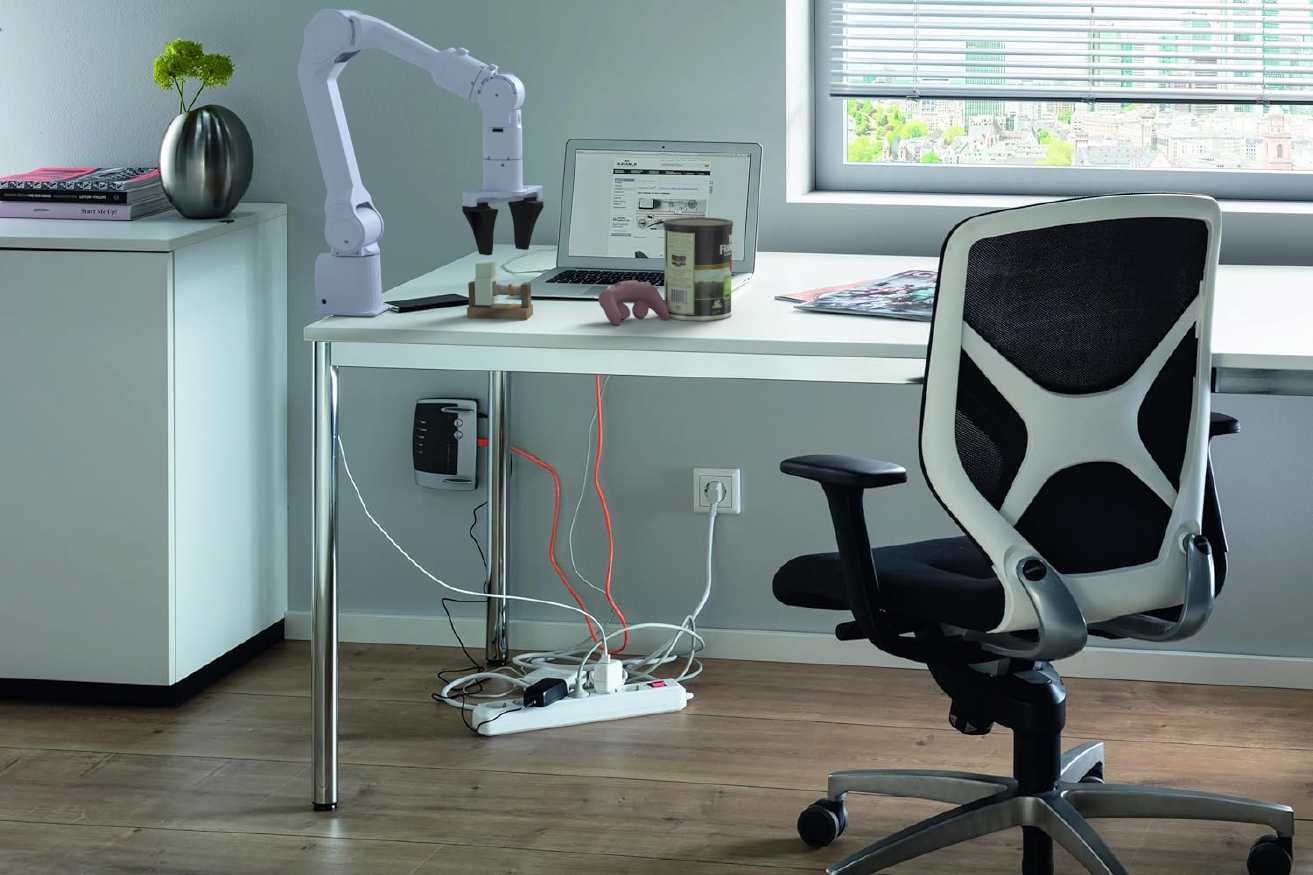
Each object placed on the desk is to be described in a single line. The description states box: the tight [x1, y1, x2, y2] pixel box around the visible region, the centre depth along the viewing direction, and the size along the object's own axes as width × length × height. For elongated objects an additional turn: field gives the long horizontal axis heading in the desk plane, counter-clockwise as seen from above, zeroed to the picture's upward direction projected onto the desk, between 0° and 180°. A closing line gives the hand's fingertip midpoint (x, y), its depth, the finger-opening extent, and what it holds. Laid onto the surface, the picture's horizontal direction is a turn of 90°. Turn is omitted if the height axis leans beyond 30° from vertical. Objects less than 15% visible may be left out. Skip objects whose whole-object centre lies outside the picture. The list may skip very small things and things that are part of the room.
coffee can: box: [662, 216, 734, 322], centre depth 231 cm, size 10×10×14 cm
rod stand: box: [466, 280, 534, 321], centre depth 231 cm, size 9×4×5 cm, turn 82°
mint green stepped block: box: [474, 260, 499, 305], centre depth 231 cm, size 2×4×6 cm, turn 172°
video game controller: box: [598, 279, 669, 327], centre depth 228 cm, size 10×5×7 cm, turn 123°
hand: (504, 251), depth 229 cm, fingers open, 7 cm apart
